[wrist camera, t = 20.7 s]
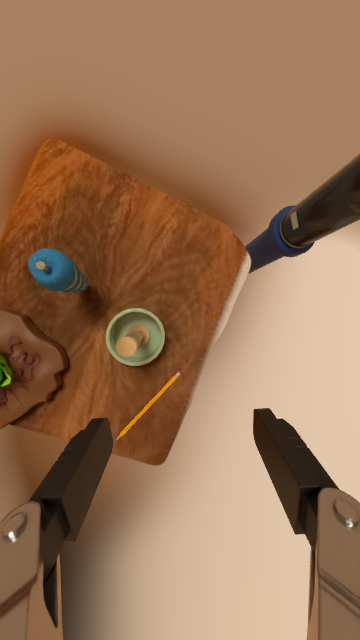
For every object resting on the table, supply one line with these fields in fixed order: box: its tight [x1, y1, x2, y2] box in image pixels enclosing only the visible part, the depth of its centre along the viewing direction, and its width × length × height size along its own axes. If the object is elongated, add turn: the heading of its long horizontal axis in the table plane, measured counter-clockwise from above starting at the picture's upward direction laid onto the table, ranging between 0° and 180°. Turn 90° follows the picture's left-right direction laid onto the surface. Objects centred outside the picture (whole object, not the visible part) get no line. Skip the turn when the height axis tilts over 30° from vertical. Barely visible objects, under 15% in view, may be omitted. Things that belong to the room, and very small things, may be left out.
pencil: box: [116, 370, 182, 441], centre depth 36 cm, size 1×19×1 cm
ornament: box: [28, 249, 88, 292], centre depth 27 cm, size 5×5×15 cm
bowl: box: [106, 308, 165, 366], centre depth 33 cm, size 10×10×5 cm
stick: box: [116, 324, 150, 357], centre depth 28 cm, size 5×5×15 cm
